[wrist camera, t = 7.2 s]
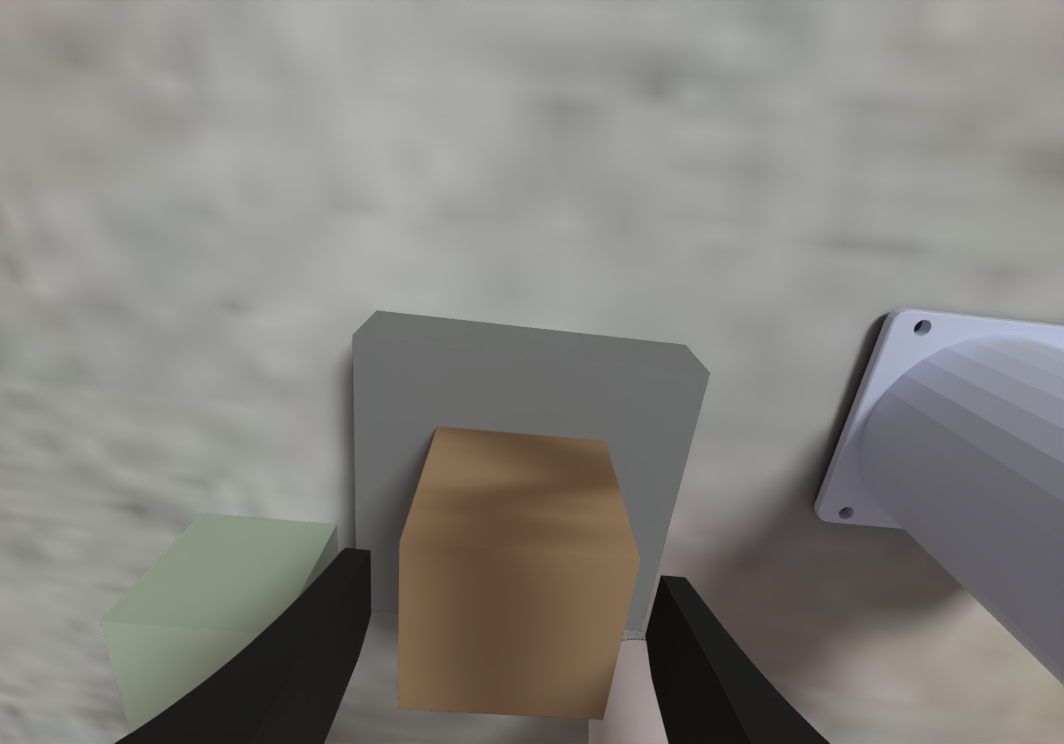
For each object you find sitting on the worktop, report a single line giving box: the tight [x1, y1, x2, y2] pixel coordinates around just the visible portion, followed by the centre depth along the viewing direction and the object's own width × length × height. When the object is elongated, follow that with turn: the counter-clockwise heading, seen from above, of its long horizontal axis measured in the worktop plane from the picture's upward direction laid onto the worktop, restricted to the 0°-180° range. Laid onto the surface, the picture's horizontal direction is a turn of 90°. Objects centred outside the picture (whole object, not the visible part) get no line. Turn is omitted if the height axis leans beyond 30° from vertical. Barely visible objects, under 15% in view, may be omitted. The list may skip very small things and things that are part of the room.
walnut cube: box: [398, 426, 641, 720], centre depth 14 cm, size 5×5×5 cm
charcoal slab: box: [353, 311, 710, 631], centre depth 18 cm, size 10×10×3 cm
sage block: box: [100, 513, 338, 733], centre depth 18 cm, size 5×5×5 cm
